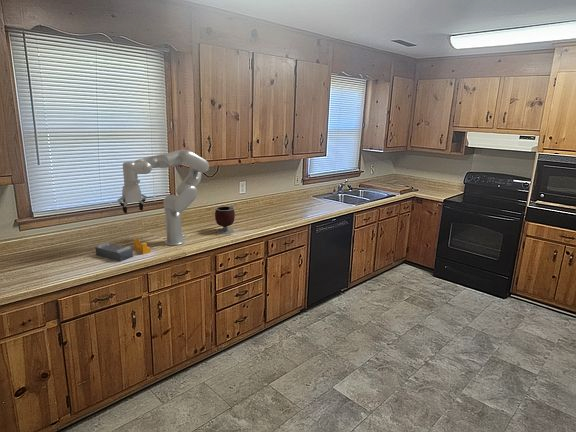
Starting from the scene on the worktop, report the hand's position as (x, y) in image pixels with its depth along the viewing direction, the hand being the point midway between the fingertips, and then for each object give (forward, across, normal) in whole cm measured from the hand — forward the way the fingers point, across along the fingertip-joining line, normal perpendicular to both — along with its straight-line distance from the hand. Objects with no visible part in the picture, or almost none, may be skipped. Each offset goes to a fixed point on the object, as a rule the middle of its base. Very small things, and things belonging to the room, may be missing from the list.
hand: (133, 211), depth 232 cm
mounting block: (+24, +14, 0) cm, 28 cm away
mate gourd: (+25, -65, +5) cm, 70 cm away
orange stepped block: (+25, -2, +3) cm, 25 cm away
